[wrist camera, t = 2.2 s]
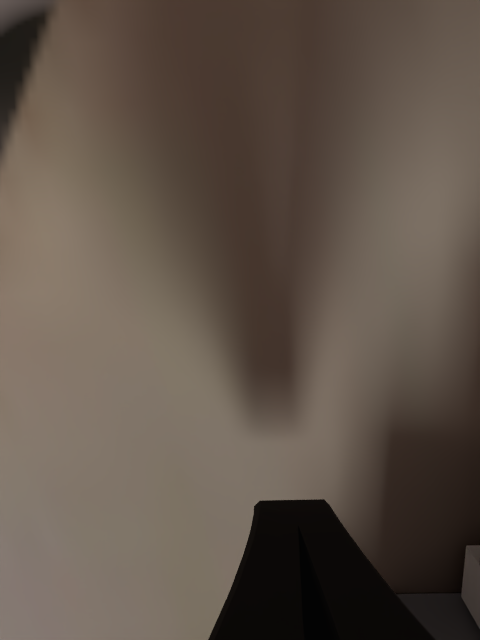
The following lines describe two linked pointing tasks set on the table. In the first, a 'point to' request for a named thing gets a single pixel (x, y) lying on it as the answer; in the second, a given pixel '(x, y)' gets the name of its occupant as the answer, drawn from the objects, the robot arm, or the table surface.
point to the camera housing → (443, 615)
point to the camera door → (472, 581)
